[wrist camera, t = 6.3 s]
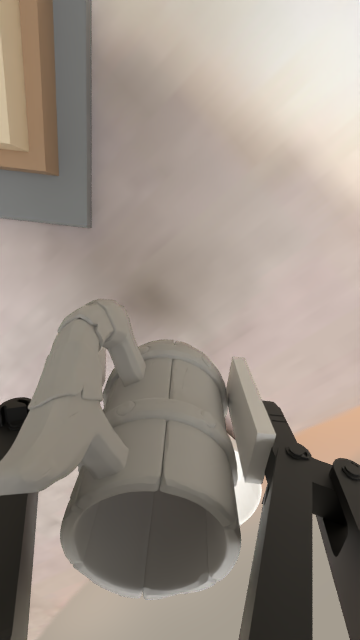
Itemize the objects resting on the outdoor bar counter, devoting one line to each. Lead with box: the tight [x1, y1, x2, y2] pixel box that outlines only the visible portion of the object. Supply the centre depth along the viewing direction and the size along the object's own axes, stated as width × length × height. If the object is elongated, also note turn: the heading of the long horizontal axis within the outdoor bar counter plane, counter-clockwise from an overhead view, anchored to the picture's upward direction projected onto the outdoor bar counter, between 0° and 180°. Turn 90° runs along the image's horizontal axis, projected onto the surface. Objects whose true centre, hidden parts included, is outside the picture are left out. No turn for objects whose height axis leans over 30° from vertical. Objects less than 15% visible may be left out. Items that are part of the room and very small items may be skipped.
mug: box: [0, 299, 241, 600], centre depth 13 cm, size 8×12×12 cm, turn 25°
